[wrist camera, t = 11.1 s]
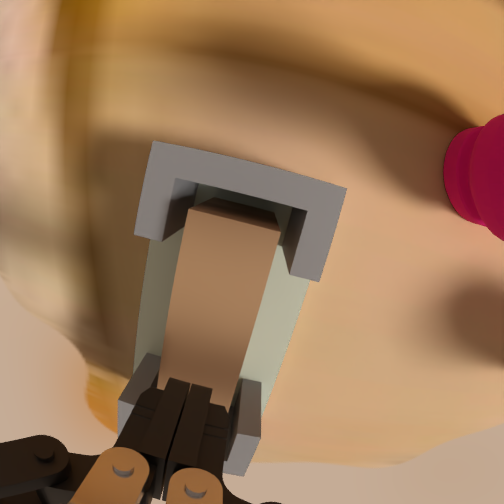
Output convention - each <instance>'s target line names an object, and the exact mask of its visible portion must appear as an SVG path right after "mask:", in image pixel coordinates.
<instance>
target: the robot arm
mask: <svg viewBox="0 0 504 504" xmlns="http://www.w3.org/2000/svg"><path fill="white" fill-rule="evenodd" d="M189 389H190V391H189ZM212 390H213V388H209V387H205V386H201V385H197V384H193V383H192V385H191V388H190V383H189V382H185V381H182V380H178V379H175V378H171V377H170V378H169V379H168V382H167V384H166V386H165V389H164V390H161V389H158V388H154V387H150V388H148V389H147V390H145V391H144V392H142V393H141V394H140V396H139V398H138V400H137V402H136V404H135V406H134V408H133V410H132V412H131V414H130V415H129V417H128V419H127V421H126V423H125V425H124V427H123V429H122V431H121V433H120V435H119V437H118V439H117V441H116V443H115V445H114V446H113V447H112V448H110V449H107V450H106V451H104V452H103V453H102V454H100V455H93V456H89V455H81V454H75V453H69V452H68V451H67V449H66V447H65V446H64V445H63V444H62V443H61V442H60V441H59V440H57V439H55V438H53V437H50V436H47V435H36V436H31V437H27V438H23V439H18V440H14V441H9V442H4V443H0V504H151V501H152V498H156V499H159V500H160V498H161V494H162V491H163V497H162V500H163V501H166V504H251V503H249V502H247V501H244V500H242V499H240V498H238V497H236V496H235V495H233V494H232V493H231V492H230V491H229V490H228V489H227V488H226V486H225V485H224V482H223V478H222V473H223V465H224V458H225V450H226V442H227V441H226V440H227V434H228V427H229V419H230V417H229V415H228V413H227V410H226V408H225V406H222V405H217V404H213V403H210V399H211V395H212ZM163 487H164V490H163ZM261 504H281V503H277V502H265V503H261Z"/></svg>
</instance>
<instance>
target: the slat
mask: <svg viewBox="0 0 504 504" xmlns="http://www.w3.org/2000/svg"><path fill="white" fill-rule="evenodd" d="M280 234H281V231H280V228H279V225H278V222H277V219H276V216H275V213H274V212H271V211H267V210H263V209H260V208H256V207H252V206H248V205H244V204H240V203H236V202H232V201H228V200H224V199H220V198H216V197H213V198H211V199H209V200H207V201H204V202H202V203H200V204H198V205H196V206H194V207H191V208H189V209H188V214H187V218H186V223H185V228H184V232H183V237H182V242H181V247H180V252H179V257H178V262H177V267H176V272H175V278H174V283H173V288H172V294H171V299H170V305H169V311H168V317H167V323H166V329H165V335H164V342H163V349H162V355H161V362H160V369H159V377H158V384H157V388H158V389H161V390H164V389H165V386H166V384H167V382H168V379H169V378H170V377H171V378H175V379H178V380H182V381H185V382H189V383H190V388H191V385H192V383H193V384H197V385H201V386H205V387H209V388H213V390H212V395H211V399H210V403H213V404H217V405H222V406H225V408H226V410H227V413H228V411H229V408H230V405H231V401H232V398H233V395H234V392H235V388H236V385H237V382H238V378H239V375H240V372H241V369H242V365H243V362H244V359H245V355H246V352H247V348H248V345H249V342H250V338H251V335H252V332H253V328H254V325H255V321H256V318H257V314H258V311H259V308H260V304H261V301H262V297H263V294H264V290H265V287H266V283H267V280H268V276H269V273H270V269H271V266H272V262H273V259H274V255H275V251H276V248H277V244H278V241H279V237H280ZM189 391H190V389H189Z"/></svg>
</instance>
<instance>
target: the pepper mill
mask: <svg viewBox="0 0 504 504" xmlns="http://www.w3.org/2000/svg"><path fill="white" fill-rule="evenodd" d="M443 175H444V183H445V189H446V192H447V194H448V197H449V199H450V202H451V204H452V205H453V207H454V208H455V210H456V211H457V212H458V213H459V215H460V216H462V217H463V218H464V219H466V220H467V221H470V222H472V223H475V224H479V225H482V226H486V227H487V228H488V229H489V230H490V231H491V232H492V233H493V234H494V235H495V236H497V237H498V238H500V239H501V240H503V241H504V114H502V115H499V116H497V117H495V118H493V119H491V120H490V121H489V122H488V123H487V124H486V125H485V126H481V127H474V128H469V129H465V130H464V131H462V132H460V133H458V134H457V135H456V136H455V137H454V139H453V140H452V141H451V143H450V145H449V147H448V150H447V152H446V156H445V160H444V171H443Z"/></svg>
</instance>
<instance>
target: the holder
mask: <svg viewBox="0 0 504 504" xmlns="http://www.w3.org/2000/svg"><path fill="white" fill-rule="evenodd" d="M346 190H347V188H344V187H341V186H337V185H334V184H331V183H327V182H324V181H321V180H317V179H314V178H310V177H307V176H303V175H300V174H296V173H293V172H289V171H285V170H282V169H278V168H274V167H270V166H266V165H263V164H259V163H255V162H251V161H247V160H243V159H238V158H234V157H230V156H226V155H221V154H217V153H212V152H208V151H203V150H199V149H194V148H189V147H184V146H179V145H174V144H169V143H164V142H159V141H153V143H152V147H151V151H150V155H149V160H148V164H147V169H146V173H145V178H144V182H143V187H142V192H141V197H140V202H139V207H138V213H137V218H136V224H135V230H134V235H137V236H141V237H145V238H148V239H150V243H149V249H148V255H147V261H146V267H145V274H144V280H143V287H142V294H141V302H140V310H139V318H138V326H137V335H136V345H135V356H134V367H133V376H132V377H131V379H130V381H129V382H128V384H127V386H126V387H125V389H124V391H123V392H122V394H121V396H120V397H119V399H118V437H119V435H120V433H121V431H122V429H123V427H124V425H125V423H126V421H127V419H128V417H129V415H130V414H131V412H132V410H133V408H134V406H135V404H136V402H137V400H138V398H139V396H140V394H141V393H142V392H144V391H145V390H147V389H148V388H150V387H154V388H157V384H158V377H159V369H160V362H161V355H162V349H163V342H164V335H165V329H166V323H167V317H168V311H169V305H170V299H171V294H172V288H173V283H174V278H175V272H176V267H177V262H178V257H179V252H180V247H181V242H182V237H183V232H184V228H185V223H186V218H187V214H188V209H189V208H191V207H194V206H196V205H198V204H200V203H202V202H204V201H207V200H209V199H211V198H213V197H216V198H220V199H224V200H228V201H232V202H236V203H240V204H244V205H248V206H252V207H256V208H260V209H263V210H267V211H271V212H274V213H275V216H276V219H277V222H278V225H279V228H280V231H281V234H280V237H279V241H278V244H277V248H276V251H275V255H274V259H273V262H272V266H271V269H270V273H269V276H268V280H267V283H266V287H265V290H264V294H263V297H262V301H261V304H260V308H259V311H258V314H257V318H256V321H255V325H254V328H253V332H252V335H251V338H250V342H249V345H248V348H247V352H246V355H245V359H244V362H243V365H242V369H241V372H240V375H239V378H238V382H237V385H236V388H235V392H234V395H233V398H232V401H231V405H230V408H229V411H228V415H229V417H230V419H229V427H228V434H227V440H226V441H227V442H226V450H225V458H224V465H223V473H226V474H232V475H237V476H244V475H245V472H246V470H247V468H248V466H249V464H250V461H251V459H252V457H253V455H254V452H255V450H256V448H257V446H258V443H259V441H260V439H261V417H262V415H263V412H264V410H265V407H266V404H267V402H268V399H269V397H270V394H271V391H272V389H273V386H274V383H275V381H276V378H277V375H278V372H279V370H280V367H281V364H282V361H283V359H284V356H285V353H286V350H287V347H288V345H289V342H290V339H291V336H292V333H293V330H294V327H295V324H296V321H297V319H298V316H299V313H300V310H301V307H302V304H303V301H304V297H305V294H306V291H307V288H308V285H309V282H310V280H312V281H316V282H319V281H320V278H321V275H322V271H323V268H324V265H325V262H326V259H327V256H328V252H329V249H330V246H331V243H332V239H333V236H334V232H335V229H336V226H337V222H338V219H339V215H340V212H341V208H342V205H343V201H344V198H345V194H346Z"/></svg>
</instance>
